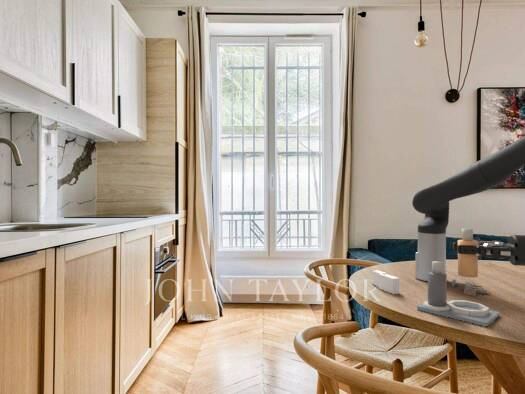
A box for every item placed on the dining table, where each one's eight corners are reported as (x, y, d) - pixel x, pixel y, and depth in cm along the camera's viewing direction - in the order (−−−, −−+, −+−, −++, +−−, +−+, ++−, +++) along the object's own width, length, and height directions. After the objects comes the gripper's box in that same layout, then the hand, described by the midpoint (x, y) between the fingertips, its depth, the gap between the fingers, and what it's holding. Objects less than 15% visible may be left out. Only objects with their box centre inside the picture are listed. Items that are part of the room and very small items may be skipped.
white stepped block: (406, 298, 102) (406, 279, 102) (367, 294, 106) (367, 276, 106) (402, 285, 116) (402, 269, 116) (368, 283, 120) (368, 267, 120)
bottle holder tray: (416, 310, 90) (416, 261, 90) (433, 301, 97) (433, 256, 97) (486, 327, 78) (486, 271, 78) (499, 316, 85) (499, 264, 85)
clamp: (487, 291, 101) (449, 287, 107) (487, 299, 101) (449, 293, 107) (485, 281, 114) (452, 277, 119) (485, 287, 114) (452, 283, 119)
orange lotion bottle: (455, 275, 87) (455, 229, 87) (461, 272, 90) (460, 228, 90) (474, 278, 84) (474, 230, 84) (480, 275, 87) (479, 229, 87)
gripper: (521, 232, 89) (449, 231, 94) (548, 238, 75) (462, 236, 81) (521, 260, 89) (449, 257, 94) (548, 272, 75) (462, 267, 81)
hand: (455, 247), depth 88 cm, fingers closed on orange lotion bottle, 4 cm apart
